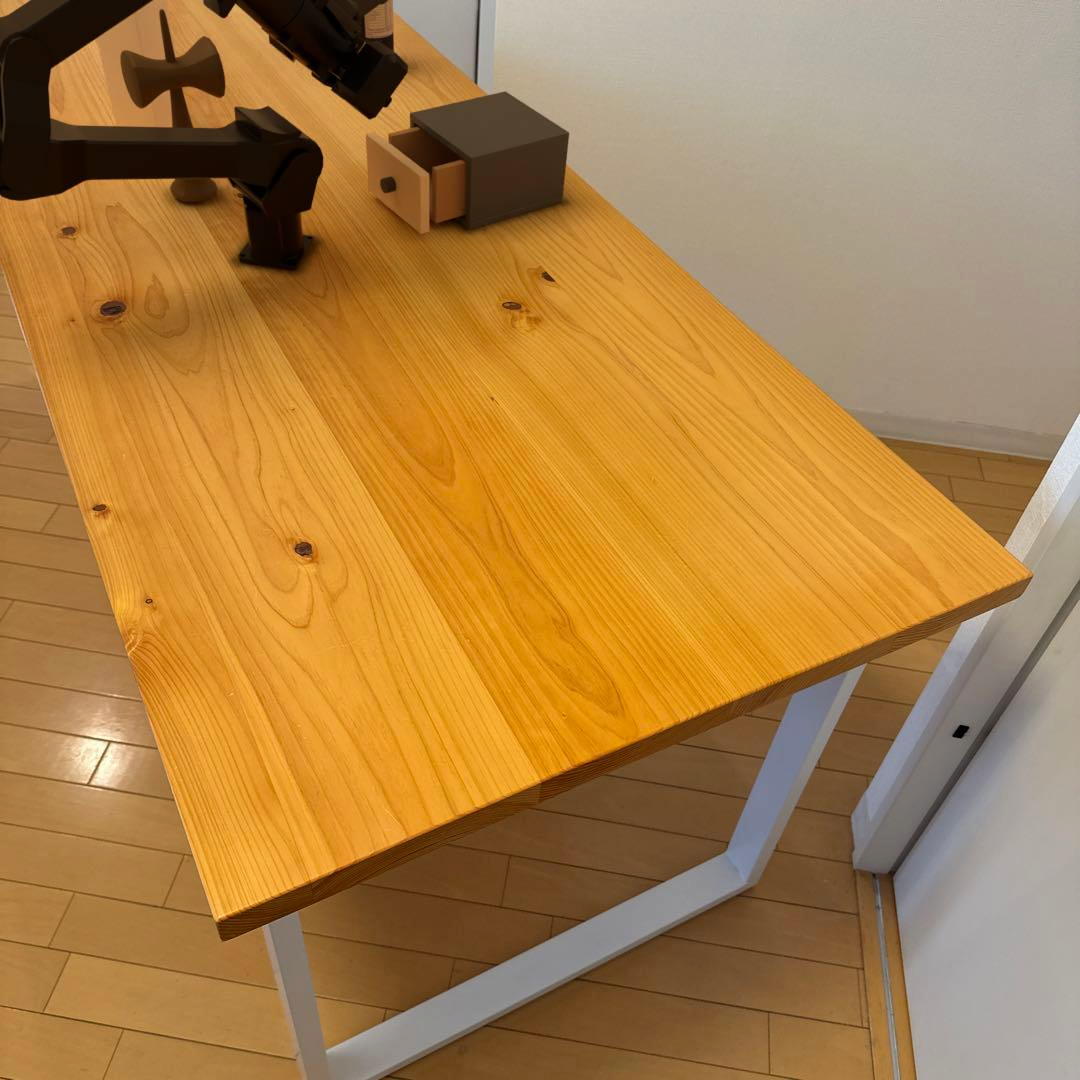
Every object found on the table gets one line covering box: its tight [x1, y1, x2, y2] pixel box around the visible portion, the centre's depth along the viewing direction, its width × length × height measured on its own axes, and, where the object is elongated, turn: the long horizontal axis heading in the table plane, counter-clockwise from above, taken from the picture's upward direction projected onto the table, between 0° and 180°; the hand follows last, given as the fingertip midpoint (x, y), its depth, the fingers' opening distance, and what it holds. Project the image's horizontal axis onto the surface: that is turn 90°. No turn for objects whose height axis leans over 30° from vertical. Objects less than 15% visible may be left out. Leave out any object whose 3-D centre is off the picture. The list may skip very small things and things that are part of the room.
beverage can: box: [355, 0, 395, 52], centre depth 141 cm, size 6×6×12 cm
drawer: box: [365, 126, 468, 235], centre depth 115 cm, size 14×11×7 cm
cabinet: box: [409, 91, 570, 231], centre depth 119 cm, size 14×13×9 cm
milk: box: [96, 0, 184, 127], centre depth 115 cm, size 6×6×22 cm
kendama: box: [120, 9, 227, 203], centre depth 109 cm, size 6×10×20 cm, turn 124°
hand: (387, 102), depth 106 cm, fingers closed
